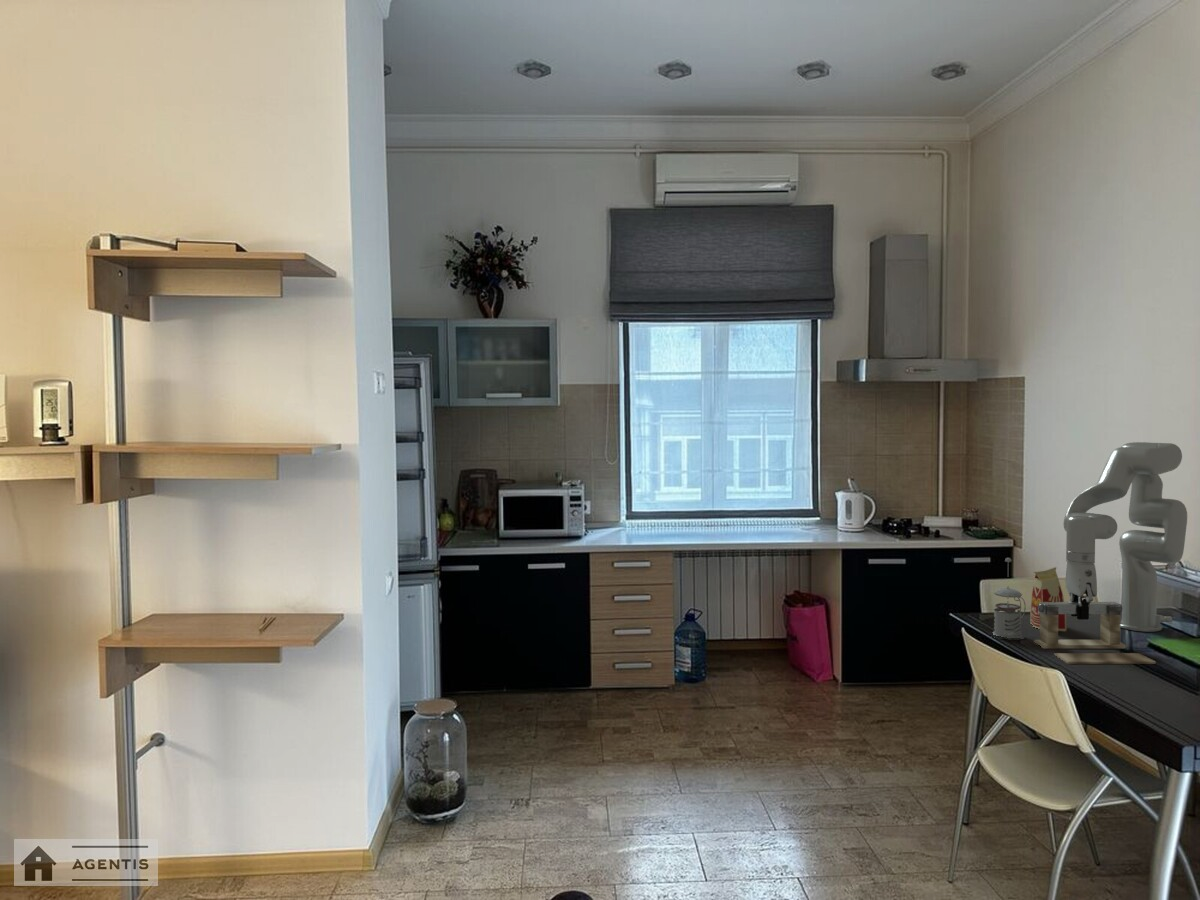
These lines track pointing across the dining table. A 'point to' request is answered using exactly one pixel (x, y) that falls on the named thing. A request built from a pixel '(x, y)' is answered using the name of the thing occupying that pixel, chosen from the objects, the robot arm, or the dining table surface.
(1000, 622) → the french press
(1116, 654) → the wooden board
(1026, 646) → the dining table surface
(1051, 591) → the milk carton
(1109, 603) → the rail
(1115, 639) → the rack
